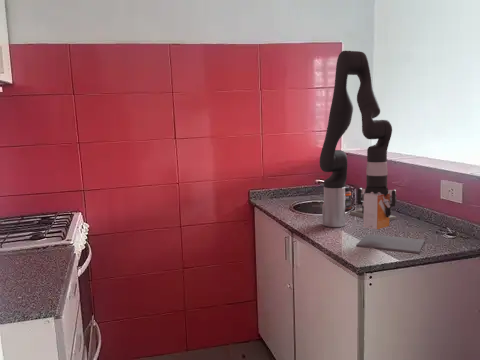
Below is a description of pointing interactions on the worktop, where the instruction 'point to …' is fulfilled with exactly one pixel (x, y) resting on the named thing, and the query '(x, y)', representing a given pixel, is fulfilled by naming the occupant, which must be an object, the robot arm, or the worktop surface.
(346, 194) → the supplement bottle
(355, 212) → the soap mold
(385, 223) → the small box
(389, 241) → the mat
